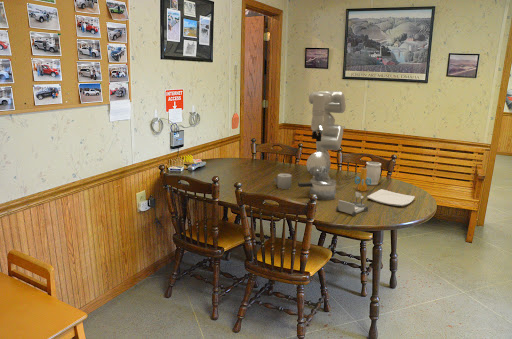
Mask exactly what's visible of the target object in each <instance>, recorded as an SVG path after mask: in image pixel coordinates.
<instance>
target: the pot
mask: <svg viewBox="0 0 512 339" xmlns="http://www.w3.org/2000/svg"><path fill="white" fill-rule="evenodd" d="M297 186H298V188H308V187H309V195H310V194H316V195H317V197H318V199H317V200H319V201H331V200H334V199H335V198H336V189H337V188H336V187H337V180H336V179H332V178H330V179H329V178H313V177H312V178H311V179H310V181H309V182H307V181H305V182H303V181H302V182H301V181H300V182H297Z"/></svg>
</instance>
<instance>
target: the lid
mask: <svg viewBox="0 0 512 339" xmlns="http://www.w3.org/2000/svg"><path fill="white" fill-rule="evenodd" d="M330 159H331V158H330ZM330 159H329V157H328V156H327V155H326V154H325V153H322V152H317V151H316V152H313V153H311V154H310V155H309V156H308V158H307V160H306V169H307V171H308V173H309V174H310V175H312V177H313V176H315V178H322V176H324V175H325V174H327V173H328V171H330V169H331V166H332V165H331V164H332V163H331V160H330ZM328 174H329V173H328Z"/></svg>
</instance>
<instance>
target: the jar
mask: <svg viewBox="0 0 512 339" xmlns="http://www.w3.org/2000/svg"><path fill="white" fill-rule="evenodd" d="M365 164H366V166H365V168H367V177H366V178H368V177H370V178H371V184H370V183H368V184H370V185H369V186H377V185H378V184H379V183H378V182H379V180H380V176H381V174H382V173H381V172H382V171H381V170H382V169H381V166H382V163H381V162H378V161H366V163H365ZM368 179H369V178H368ZM369 181H370V180H367V182H369Z"/></svg>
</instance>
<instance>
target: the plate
mask: <svg viewBox="0 0 512 339" xmlns="http://www.w3.org/2000/svg"><path fill="white" fill-rule="evenodd" d="M366 197H367V198H368V199H369V200H372V201H374V202H377V203H380V204H383V205H388V206H395V207H404V206H407V205H410V204H411V203H412V202H413V201H414V199H416V196H415V195H410V194H408V195H407V194H404V193H397V192H394V191H390V190H386V189H383V188H381V189H378V190H376V191H374V192H372V193H371V194H369V195H367V196H366Z"/></svg>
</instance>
